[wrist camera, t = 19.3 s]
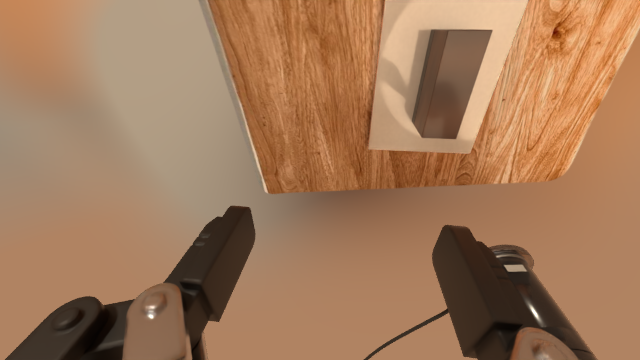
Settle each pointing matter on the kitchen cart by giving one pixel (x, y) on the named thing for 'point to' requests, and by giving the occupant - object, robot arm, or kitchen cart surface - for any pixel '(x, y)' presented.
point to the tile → (408, 59)
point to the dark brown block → (448, 80)
